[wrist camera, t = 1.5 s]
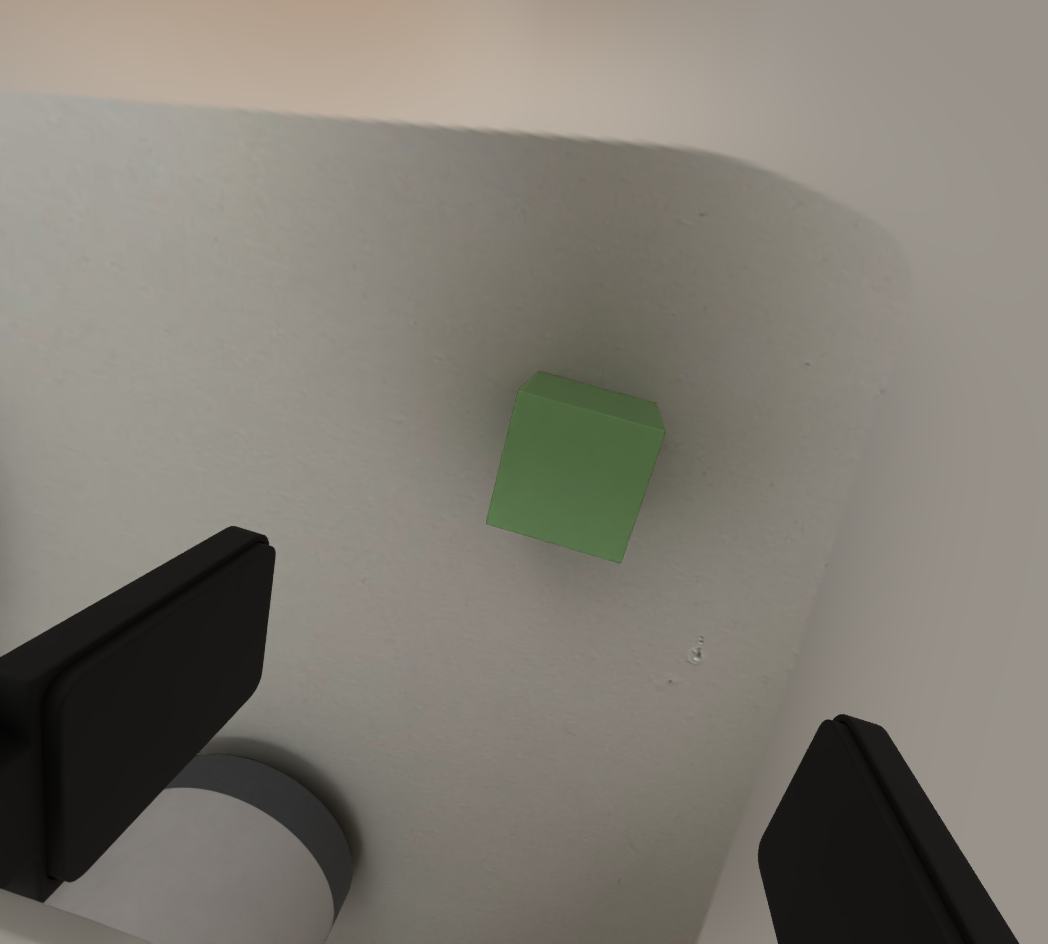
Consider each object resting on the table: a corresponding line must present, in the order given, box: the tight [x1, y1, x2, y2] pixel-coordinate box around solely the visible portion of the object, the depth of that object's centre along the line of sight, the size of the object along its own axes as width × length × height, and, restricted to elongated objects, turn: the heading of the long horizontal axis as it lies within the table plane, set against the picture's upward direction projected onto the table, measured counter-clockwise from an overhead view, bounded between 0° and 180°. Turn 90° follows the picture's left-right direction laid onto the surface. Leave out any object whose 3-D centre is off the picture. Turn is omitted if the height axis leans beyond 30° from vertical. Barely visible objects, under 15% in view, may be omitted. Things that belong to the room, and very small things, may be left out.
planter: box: [44, 754, 352, 944], centre depth 29 cm, size 13×13×10 cm
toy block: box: [486, 371, 666, 563], centre depth 22 cm, size 5×5×5 cm
